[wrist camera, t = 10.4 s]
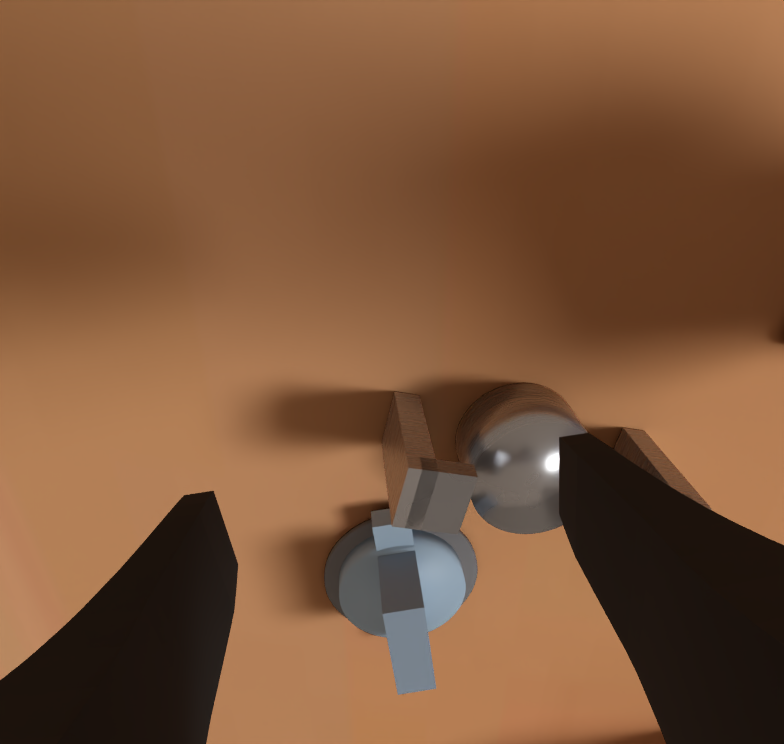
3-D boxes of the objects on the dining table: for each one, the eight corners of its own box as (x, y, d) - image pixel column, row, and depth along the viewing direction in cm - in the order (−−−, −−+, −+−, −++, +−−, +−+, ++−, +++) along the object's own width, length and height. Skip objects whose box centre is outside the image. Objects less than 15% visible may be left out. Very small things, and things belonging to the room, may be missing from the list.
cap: (467, 627, 29) (485, 704, 25) (353, 645, 29) (356, 725, 25) (454, 498, 25) (473, 567, 22) (324, 518, 25) (322, 592, 22)
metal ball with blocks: (657, 404, 24) (728, 478, 20) (611, 500, 27) (667, 587, 22) (402, 361, 23) (418, 433, 18) (374, 468, 25) (383, 556, 20)
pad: (494, 522, 27) (496, 527, 26) (453, 631, 29) (454, 636, 29) (339, 503, 25) (339, 508, 25) (313, 619, 28) (312, 624, 28)
